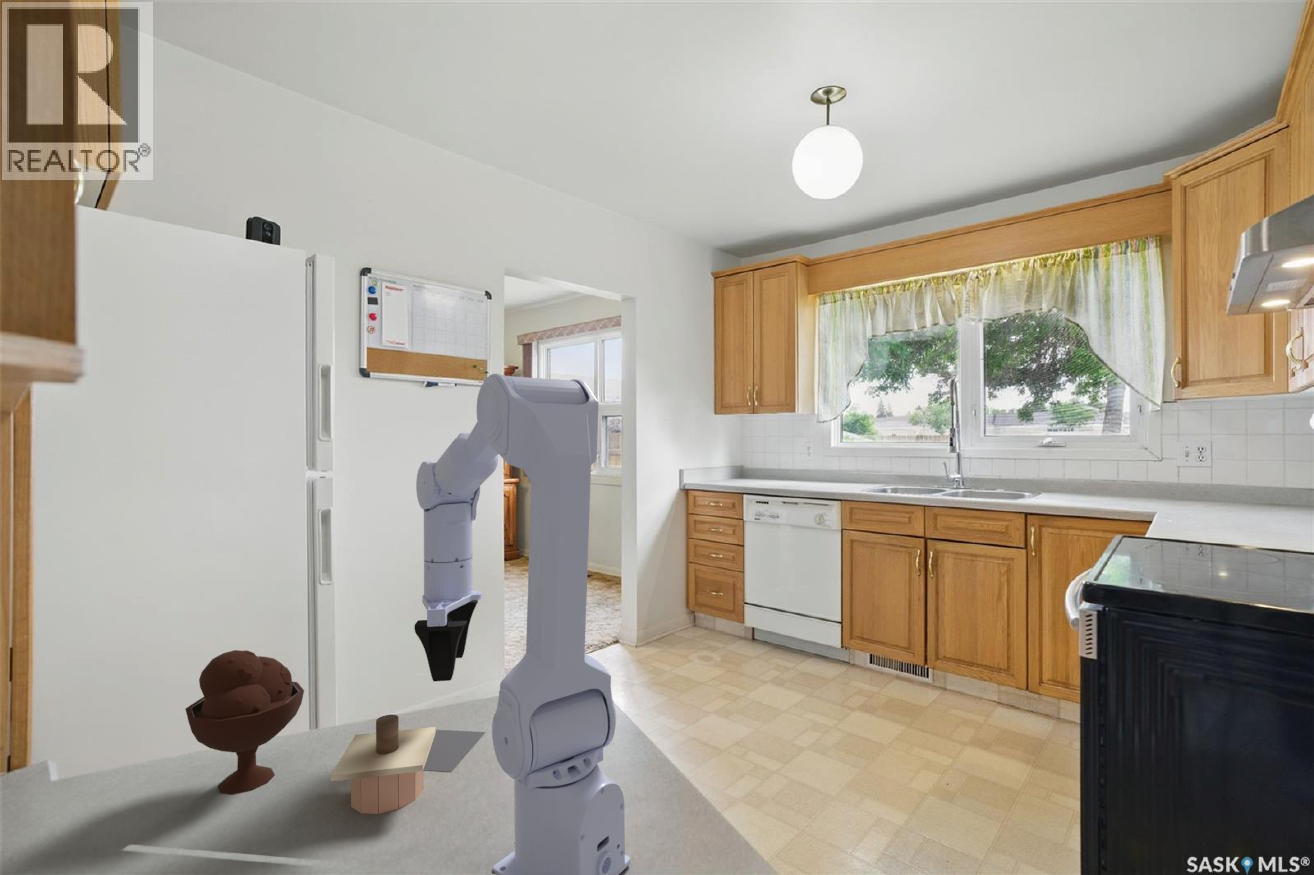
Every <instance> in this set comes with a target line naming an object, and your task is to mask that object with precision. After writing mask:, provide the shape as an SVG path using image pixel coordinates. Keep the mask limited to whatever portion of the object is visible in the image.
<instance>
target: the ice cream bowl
mask: <svg viewBox="0 0 1314 875" xmlns="http://www.w3.org/2000/svg"><path fill="white" fill-rule="evenodd" d="M292 678H293V676H292V673H291V671H290V669H289V668H288V667H286V666H285V665H284V664H283V663H281V662H280V660H279V661H278V659H276V658H274V657H268V656H261V655H259V656H258V655H256V654H255V653H254V652H252V651H249V650H236V649H235V650H231V651H226V652H223V653H221V654H219V655H217V656H216V657H214V658H212V659H211V660H210V662H208V664H207V665H206V666H205V667H204V669H203V670H202V671H201V672H200V676H199V680H198V684H199V688H200V690H201V693H202V695H203V697H201V698H199V699H198V700H196V701H195V702H193V703H192V704H190V705H189V706H187V707H185V714H186V716H187V717H186V718H187V721H188V723H189V727H190V730H191V733H192V734H193V736H194V738H195V739H196V741H197V742H198V743H200V744H201V745H203V746H205V747H207V748H209V749H213V750H216V751H220V752H225V753H226V752H227V753H235V754H236V756H237V763H236V764H237V767H236V768H237V769H236V770H235V771H233V772H232V773H231V774H229V775H228V776H226V777H225V778H224V779H223V780H222V781H221V782H219V783H218V785H217V789H218V792H219V793H220V794H224V795H225V794H226V795H237V794H242V793H247V792H251V791H254V790H256V789H258V788H260V787H262V786H265V785H267V784H268V783H269V782H270V781H271V780H272V779H273V778H274V777H275V772H274V770H273V768H272V767H268V766H263V765H257V754H256V753H257V751H258V749H259V747H260V746H262V745H265V744H267V743H268V742H270V741H271V740H272V739H274V738H275V737H276V736H277V735H278V734H279V733H280V732H281V731H282V730H284V729H285V728H286V726H288V724H289V723H290V722H291V721H292V720H293V719H294V718H295V717H296V716H297V714H298V711H299V709H300V707H301V706H302V702H303V698H304V693H305V689H303V687H302V686H301V685H300V683H299V682H298V681H293V680H292Z"/></svg>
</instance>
